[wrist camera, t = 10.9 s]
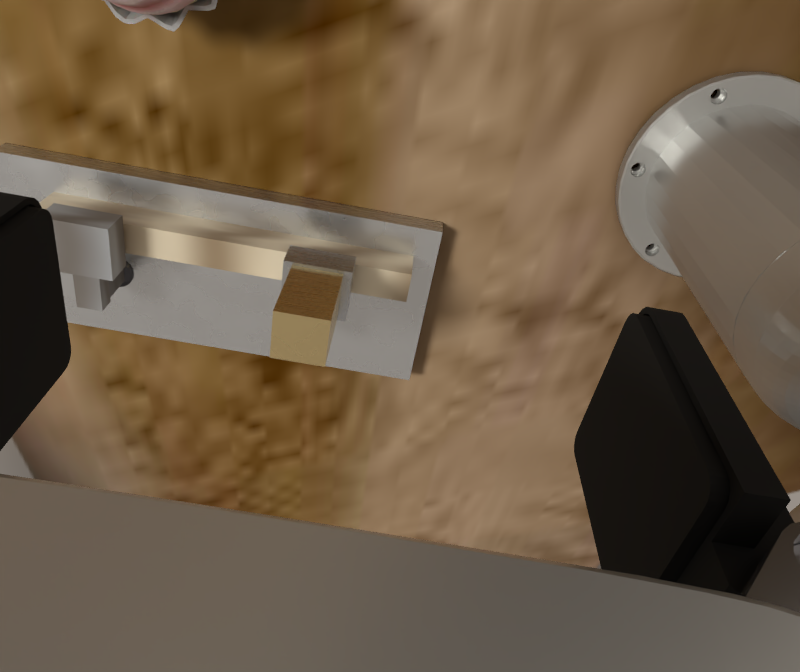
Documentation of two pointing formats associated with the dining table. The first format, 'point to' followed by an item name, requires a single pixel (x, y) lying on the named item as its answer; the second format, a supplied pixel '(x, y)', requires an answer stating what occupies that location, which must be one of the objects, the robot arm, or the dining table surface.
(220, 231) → the sliding bolt bar
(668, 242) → the robot arm
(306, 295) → the block
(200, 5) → the cupcake
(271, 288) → the bolt plate
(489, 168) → the dining table surface
